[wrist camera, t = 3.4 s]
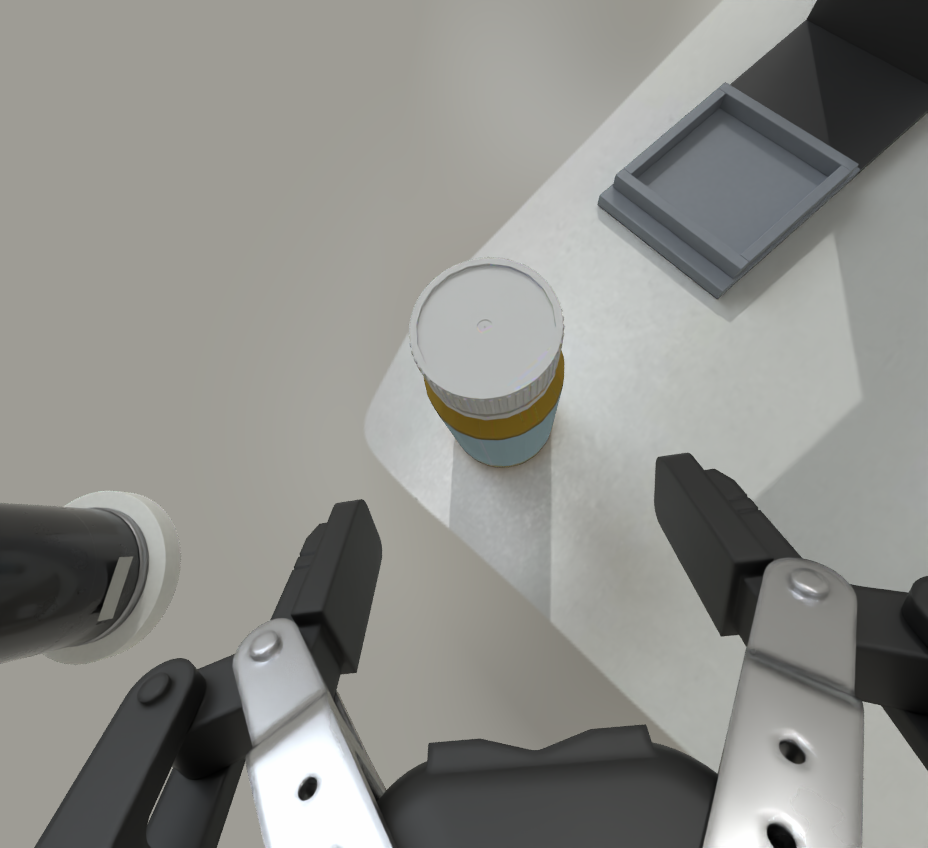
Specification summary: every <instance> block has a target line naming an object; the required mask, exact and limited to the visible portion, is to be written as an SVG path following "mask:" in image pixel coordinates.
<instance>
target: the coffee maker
mask: <svg viewBox="0 0 928 848" xmlns="http://www.w3.org/2000/svg"><path fill="white" fill-rule="evenodd" d="M927 112H928V0H817V1H816V3H815V5H814V7H813V9H812V11H811V12H810V14H809V16H808V18H807V20H806V21H804V22H803V23H802V24H801V25H800V26H799V27H797V28H796V29H795V30H794V31H793V32H791V33H790V34H789V35H788V36H787V37H786V38H784V39H783V40H782V41H781V42H780V43H778V44H777V45H776V46H775V47H774V48H773V49H771V50H770V51H769V52H768V53H767V54H766V55H764V56H763V57H762V58H761V59H760V60H758V61H757V62H756V63H755V64H754V65H753V66H751V67H750V68H749V69H748V70H747V71H746V72H744V73H743V74H742V75H741V76H740V77H738V78H737V79H736V80H735V81H734V82H733V83H731V84H730V85H729V84H728V83H726V82H725V83H724V84H723V85H721V86H720V87H719V88H718V89H717V90H715V91H714V92H713V93H712V94H711V95H710V96H708V97H707V98H706V99H705V100H704V101H702V102H701V103H700V104H699V105H698V106H697V107H695V108H694V109H693V110H692V111H691V112H689V113H688V114H687V115H686V116H685V117H684V118H682V119H681V120H680V121H679V122H678V123H677V124H675V125H674V126H673V127H672V128H671V129H669V130H668V131H667V132H666V133H665V134H664V135H662V136H661V137H660V138H659V139H658V140H656V141H655V142H654V143H653V144H652V145H651V146H649V147H648V148H647V149H646V150H645V151H643V152H642V153H641V154H640V155H639V156H638V157H636V158H635V159H634V160H633V161H632V162H630V163H629V164H628V165H627V166H626V167H625V168H624V169H622V170H621V171H620V172H619V173H617V174H616V176H615V180H614V184H612V185H611V186H610V187H609V188H608V189H607V190H605V191H604V192H603V193H602V194H601V195H600V196H599V200H598V205H599V206H600V207H602V208H603V209H604V210H605V211H607V212H608V213H609V214H610V215H612V216H613V217H614V218H616V219H617V220H618V221H619V222H621V223H622V224H623V225H624V226H626V227H627V228H628V229H629V230H631V231H632V232H633V233H635V234H636V235H637V236H638V237H640V238H641V239H642V240H643V241H645V242H646V243H647V244H648V245H650V246H651V247H652V248H654V249H655V250H656V251H657V252H659V253H660V254H661V255H662V256H664V257H665V258H666V259H667V260H669V261H670V262H671V263H673V264H674V265H675V266H676V267H678V268H679V269H680V270H681V271H683V272H684V273H685V274H686V275H688V276H689V277H690V278H692V279H693V280H694V281H695V282H697V283H698V284H699V285H700V286H702V287H703V288H704V289H705V290H707V291H708V292H709V293H711V294H712V295H713V296H714V297H716V298H719V297H720V296H721V295H722V294H723V293H725V292H726V291H727V290H728V289H729V288H730V287H731V286H732V285H734V284H735V283H736V282H737V281H738V280H739V279H740V278H741V277H743V276H744V275H745V274H746V273H747V272H748V271H749V270H750V269H752V268H753V267H754V266H755V265H756V264H757V263H758V262H759V261H761V260H762V259H763V258H764V257H765V256H766V255H767V254H768V253H770V252H771V251H772V250H773V249H774V248H775V247H776V246H777V245H779V244H780V243H781V242H782V241H783V240H784V239H785V238H786V237H788V236H789V235H790V234H791V233H792V232H793V231H794V230H795V229H797V228H798V227H799V226H800V225H801V224H802V223H803V222H804V221H806V220H807V219H808V218H809V217H810V216H811V215H812V214H813V213H815V212H816V211H817V210H818V209H819V208H820V207H821V206H822V205H824V204H825V203H826V202H827V201H828V200H829V199H830V198H831V197H833V196H834V195H835V194H836V193H837V192H838V191H839V190H840V189H842V188H843V187H844V186H845V185H846V184H847V183H848V182H849V181H851V180H852V179H853V178H854V177H855V176H856V175H857V174H858V173H860V172H861V171H862V170H863V169H864V168H865V167H866V166H867V165H869V164H870V163H871V162H872V161H873V160H874V159H875V158H876V157H878V156H879V155H880V154H881V153H882V152H883V151H884V150H885V149H887V148H888V147H889V146H890V145H891V144H892V143H893V142H894V141H896V140H897V139H898V138H899V137H900V136H901V135H902V134H904V133H905V132H906V131H907V130H908V129H909V128H910V127H911V126H913V125H914V124H915V123H916V122H917V121H918V120H919V119H920V118H922V117H923V116H924V115H925V114H926V113H927Z"/></svg>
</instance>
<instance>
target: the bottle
mask: <svg viewBox="0 0 928 848" xmlns="http://www.w3.org/2000/svg"><path fill="white" fill-rule="evenodd" d="M563 321H564V317H563V316H562V309H561V306H560V302H559V300H558V298H557V296H556V294H555V292H554V291H553V289H552V287H551V286H550V285H549V284H548V282H547V281H546V280H545V279H544V278H543V277H542V276H541V275H539V274H538V273H537V272H536V271H534V270H533V269H531V268H529V267H528V266H526V265H524V264H521V263H519V262H516V261H513V260H509V259H504V258H494V257H487V258H477V259H472V260H468V261H465V262H462V263H459V264H457V265H454V266H452V267H450V268H449V269H447V270H445V271H444V272H442V273H441V274H440V275H438V276H437V277H436V278H434V279H433V280H432V281H431V282H430V283H429V284H428V286H427V287H426V288H425V289H424V290H423V292H422V293H421V295H420V297H419V298H418V300H417V302H416V304H415V306H414V309H413V312H412V315H411V319H410V326H409V339H410V347H411V349H412V351H411V352H412V355H413V356H414V361H415V362H416V364H417V367H418V368H419V370H420V371H421V373H422V375H423V376H424V382H425V386H426V390H427V395H428V397H429V399H430V401H431V403H432V405H433V406H434V408H435V410H436V411H437V413H438V414H439V416H440V417H441V419H442V420H443V422H444V423H445V424H446V426H447V427H448V428H449V430H450V431H451V433H452V434H453V435H454V437H455V438H456V439H457V441H458V442H459V444H460V445H461V446H462V448H463V449H464V450H465V451H466V452H467V453H468V454H469V455H471V456H472V457H473V458H474V459H475V460H477V461H479V462H481V463H484V464H487V465H489V466H493V467H511V466H515V465H518V464H522V463H524V462H526V461H527V460H529V459H530V458H532V457H534V456H535V455H536V454H537V453H538V452H539V451H540V450H541V448H542V447H543V446H544V445H545V443H546V441H547V439H548V437H549V434H550V431H551V429H552V425H553V421H554V417H555V414H556V410H557V406H558V402H559V398H560V395H561V391H562V387H563V380H564V357H563V354H562V351H561V348H562V343H563V337H564V324H563Z"/></svg>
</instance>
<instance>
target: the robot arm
mask: <svg viewBox="0 0 928 848" xmlns="http://www.w3.org/2000/svg"><path fill="white" fill-rule="evenodd" d="M654 506H655V512H656V516H657V519H658V522H659V524H660V526H661V528H662V530H663V531H664V533H665V535H666V537H667V539H668V541H669V542H670V544H671V546H672V548H673V550H674V551H675V553H676V555H677V557H678V559H679V561H680V562H681V564H682V566H683V568H684V570H685V572H686V573H687V575H688V577H689V579H690V581H691V582H692V584H693V586H694V588H695V590H696V592H697V593H698V595H699V597H700V599H701V601H702V603H703V604H704V606H705V608H706V610H707V612H708V613H709V615H710V617H711V619H712V621H713V623H714V624H715V626H716V628H717V630H718V632H719V634H720V635H721V636H731V635H740V637H741V638H742V640H743V642H744V644H745V645H746V652H745V656H744V660H743V665H742V669H741V674H740V678H739V682H738V687H737V691H736V696H735V700H734V704H733V709H732V713H731V718H730V722H729V727H728V731H727V735H726V740H725V744H724V748H723V753H722V757H721V761H720V766H719V770H718V774H717V773H716V772H714V771H713V770H712V769H710V768H709V767H707V766H706V765H704V764H703V763H701V762H699V761H698V760H696V759H694V758H693V757H691V756H689V755H687V754H685V753H682V752H680V751H678V750H676V749H673V748H670V747H667V746H664V745H661V744H657V743H652V742H651V739H650V736H649V732H648V729H647V726H646V725H635V726H623V727H611V728H599V729H590V730H587V731H585V732H583V733H580V734H578V735H575V736H573V737H570V738H568V739H565V740H563V741H561V742H558V743H556V744H553V745H551V746H548V747H546V748H543V749H540V750H528V749H523V748H519V747H514V746H511V745H506V744H502V743H497V742H493V741H488V740H484V739H471V740H459V741H447V742H435V743H429V745H428V760H427V762H424V763H422V764H420V765H418V766H416V767H415V768H413V769H411V770H410V771H408V772H407V773H406V774H404V775H403V776H402V777H400V778H399V779H398V780H397V781H396V782H395V783H393V784H392V785H391V786H390V787H389V789H387V790H386V788H385V786H384V784H383V783H382V781H381V779H380V777H379V775H378V773H377V772H376V770H375V768H374V766H373V765H372V762H371V760H370V758H369V756H368V754H367V752H366V750H365V748H364V746H363V744H362V742H361V740H360V737H359V735H358V733H357V731H356V729H355V727H354V725H353V723H352V721H351V718H350V716H349V714H348V712H347V710H346V708H345V706H344V704H343V702H342V700H341V697H340V696H339V693H338V692H337V690H336V689H337V685H338V681H339V677H340V674H349V673H356V672H357V668H358V664H359V659H360V655H361V650H362V646H363V641H364V636H365V632H366V628H367V623H368V619H369V614H370V610H371V605H372V601H373V596H374V592H375V587H376V582H377V578H378V574H379V569H380V565H381V560H382V545H381V540H380V537H379V534H378V532H377V529H376V527H375V524H374V522H373V519H372V516H371V514H370V511H369V509H368V506H367V504H366V502H365V501H364V500H362V499H361V500H355V501H348V502H341V503H336V504H335V505H334V507H333V509H332V512H331V515H330V517H329V520H328V522H327V523H322V524H319V525H318V526H317V527H316V528H315V529H314V531H313V532H312V533H311V534H310V535H309V536H308V537H307V538H306V541H305V543H304V545H303V548H302V550H301V552H300V557H298V559H297V561H296V564H295V566H294V570H292V573H291V575H290V577H289V579H288V582H287V584H286V586H285V588H284V591H283V593H282V595H281V597H280V600H279V602H278V604H277V606H276V609H275V611H274V613H273V616H272V618H271V620H270V621H268V622H266V623H264V624H262V625H260V626H258V627H257V628H256V629H254V630H253V631H252V632H251V633H250V634H248V635H247V637H246V638H245V639H244V640H243V641H242V642H241V644H240V645H239V647H238V649H237V651H236V653H235V654H233V655H231V656H229V657H226V658H224V659H222V660H219V661H217V662H214V663H212V664H209V665H207V666H205V667H202V668H200V669H196V667H195V666H194V665H193V664H192V663H191V662H190V661H189V660H187V659H183V658H177V659H172V660H169V661H166V662H164V663H162V664H160V665H158V666H156V667H155V668H153V669H152V670H150V671H149V672H148V673H146V674H145V675H144V676H143V677H142V678H141V679H140V680H139V681H138V682H137V683H136V684H135V685H134V686H133V687H132V688H131V690H130V691H129V693H128V694H127V695H126V697H125V699H124V700H123V702H122V704H121V705H120V707H119V709H118V710H117V712H116V714H115V715H114V717H113V718H112V720H111V722H110V724H109V725H108V727H107V728H106V730H105V732H104V733H103V735H102V737H101V738H100V740H99V742H98V743H97V745H96V747H95V748H94V750H93V751H92V753H91V755H90V756H89V758H88V760H87V762H86V763H85V765H84V766H83V768H82V770H81V771H80V773H79V775H78V776H77V778H76V780H75V781H74V783H73V785H72V786H71V788H70V790H69V791H68V793H67V794H66V796H65V798H64V799H63V801H62V803H61V805H60V806H59V808H58V809H57V811H56V813H55V814H54V816H53V818H52V819H51V821H50V823H49V824H48V826H47V828H46V829H45V831H44V833H43V834H42V836H41V837H40V839H39V841H38V842H37V844H36V846H35V847H34V848H217V845H218V842H219V839H220V836H221V833H222V830H223V827H224V824H225V821H226V818H227V815H228V812H229V808H230V805H231V803H232V800H233V797H234V793H235V791H236V787H237V784H238V782H239V779H240V776H241V772H242V769H243V766H244V763H245V760H246V767H247V772H248V776H249V781H250V785H251V789H252V794H253V798H254V802H255V806H256V811H257V815H258V820H259V824H260V828H261V832H262V837H263V841H264V846H265V848H862V821H863V756H864V708H863V703H862V701H864V702H868V703H873V704H878V705H881V706H882V707H883V709H884V710H885V711H886V713H887V714H888V716H889V717H890V718H891V720H892V721H893V723H894V724H895V726H896V727H897V728H898V730H899V731H900V733H901V734H902V735H903V737H904V738H905V740H906V741H907V742H908V744H909V745H910V747H911V748H912V749H913V751H914V752H915V754H916V755H917V756H918V758H919V759H920V761H921V762H922V763H923V765H924V766H925V768H926V769H927V770H928V576H926V577H922V578H920V579H918V580H917V581H915V583H914V584H913V585H912V587H911V589H910V591H909V593H906V592H899V591H891V590H884V589H877V588H869V587H862V586H856V585H852V584H849V583H848V582H847V581H846V580H845V579H844V578H843V577H842V576H841V575H839V574H838V573H836V572H835V571H834V570H832V569H830V568H828V567H826V566H824V565H822V564H820V563H817V562H814V561H811V560H807V559H803V558H802V557H801V556H800V555H799V554H798V553H797V552H796V551H795V549H794V548H793V547H792V546H791V545H790V544H789V543H788V541H787V540H786V539H785V538H784V537H783V536H782V535H781V533H780V532H779V531H778V530H777V529H776V528H775V526H774V525H773V524H772V523H771V522H770V521H769V520H768V518H767V517H766V516H765V515H764V514H763V513H762V512H761V510H758V507H757V506H756V505H755V504H754V502H753V501H752V500H751V499H750V498H748V497H747V494H746V493H745V492H744V491H743V490H742V489H741V487H740V486H739V485H738V484H737V483H736V482H735V481H734V480H733V479H731V478H730V477H728V476H726V475H724V474H723V473H721V472H719V471H718V470H716V469H710V470H704V469H703V468H702V467H701V466H700V464H699V463H698V462H697V461H696V459H695V458H694V457H693V456H692V455H691V454H690V453H682V454H675V455H668V456H661V457H658V458H657V460H656V470H655V493H654ZM148 565H149V556H148V548H147V543H146V540H145V537H144V535H143V533H142V531H141V529H140V527H139V526H138V525H137V523H136V522H135V521H134V520H133V519H132V518H131V517H130V516H128V515H127V514H125V513H123V512H121V511H119V510H116V509H111V508H100V507H92V508H74V507H56V506H42V505H24V504H6V503H0V664H1V663H5V662H9V661H13V660H17V659H21V658H26V657H30V656H34V655H37V654H42V653H46V652H50V651H54V650H58V649H62V648H66V647H75V646H80V645H84V644H88V643H92V642H95V641H98V640H100V639H102V638H104V637H106V636H107V635H109V634H110V633H112V632H113V631H115V630H116V629H117V628H118V627H119V626H120V625H121V624H122V623H123V622H124V621H125V620H126V619H127V618H128V617H129V615H130V614H131V612H132V611H133V610H134V608H135V606H136V605H137V603H138V601H139V599H140V597H141V595H142V592H143V590H144V587H145V583H146V579H147V574H148ZM171 767H173V769H172V772H171V774H170V776H169V778H168V781H167V783H166V785H165V787H164V790H163V792H162V794H161V796H160V798H159V801H158V803H157V805H156V807H155V810H154V812H153V814H152V816H151V818H150V820H149V823H148V819H149V816H150V814H151V811H152V809H153V807H154V805H155V802H156V800H157V798H158V796H159V794H160V791H161V789H162V787H163V785H164V783H165V780H166V778H167V776H168V774H169V771H170V769H171ZM147 823H148V825H147Z"/></svg>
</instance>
